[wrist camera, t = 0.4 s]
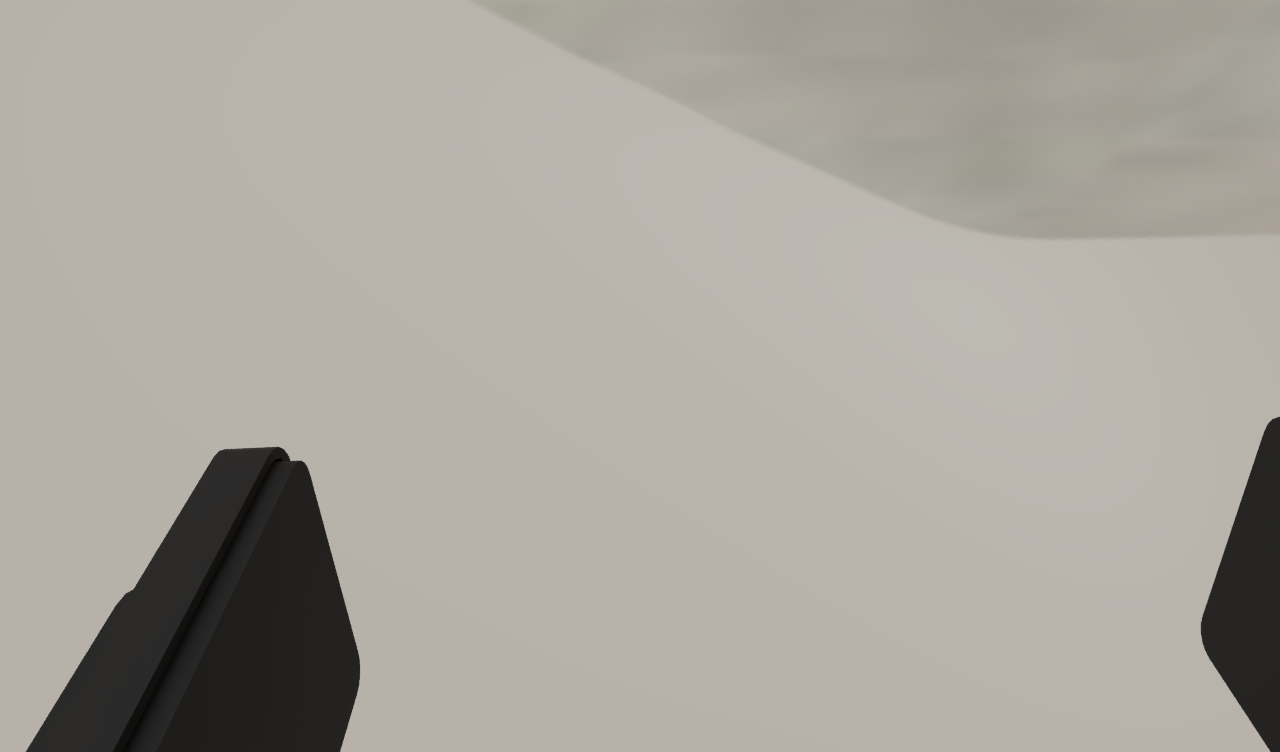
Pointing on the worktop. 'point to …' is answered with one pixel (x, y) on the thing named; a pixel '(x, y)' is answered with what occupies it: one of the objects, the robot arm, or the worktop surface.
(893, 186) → the worktop surface
